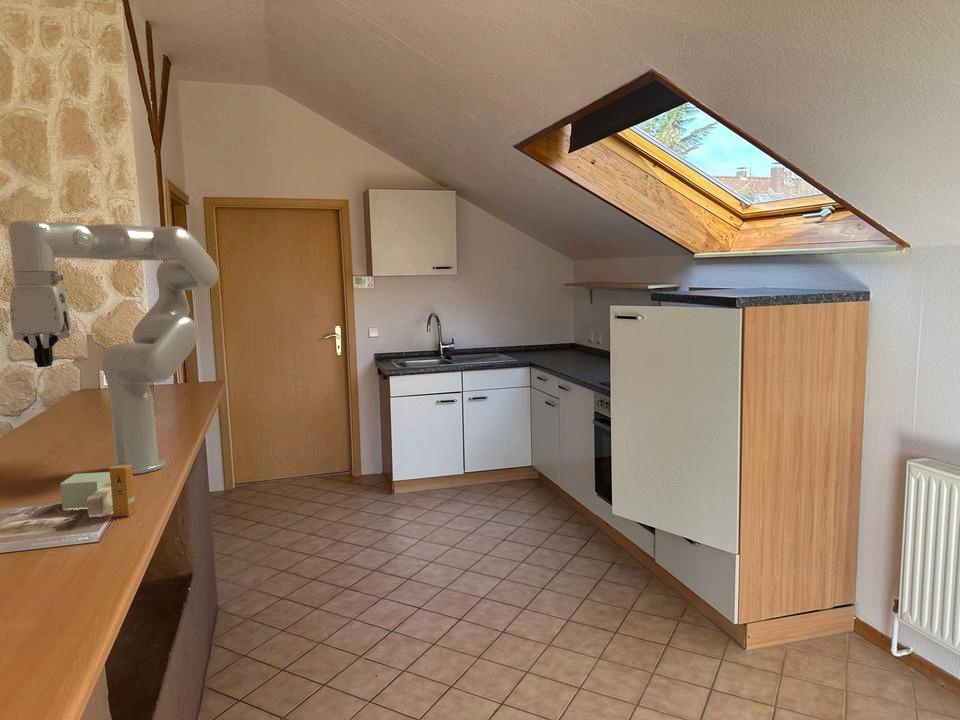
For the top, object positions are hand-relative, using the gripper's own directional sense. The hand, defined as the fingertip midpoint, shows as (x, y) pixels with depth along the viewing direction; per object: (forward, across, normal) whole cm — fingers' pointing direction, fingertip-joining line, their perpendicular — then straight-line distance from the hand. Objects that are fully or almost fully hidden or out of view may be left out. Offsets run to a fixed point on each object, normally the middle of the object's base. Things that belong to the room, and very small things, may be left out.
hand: (44, 366), depth 145 cm
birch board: (+29, -14, +7) cm, 33 cm away
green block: (+29, -9, +7) cm, 31 cm away
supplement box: (+29, -19, +15) cm, 38 cm away
